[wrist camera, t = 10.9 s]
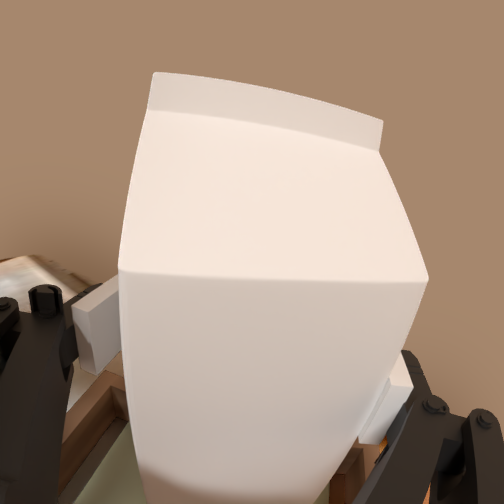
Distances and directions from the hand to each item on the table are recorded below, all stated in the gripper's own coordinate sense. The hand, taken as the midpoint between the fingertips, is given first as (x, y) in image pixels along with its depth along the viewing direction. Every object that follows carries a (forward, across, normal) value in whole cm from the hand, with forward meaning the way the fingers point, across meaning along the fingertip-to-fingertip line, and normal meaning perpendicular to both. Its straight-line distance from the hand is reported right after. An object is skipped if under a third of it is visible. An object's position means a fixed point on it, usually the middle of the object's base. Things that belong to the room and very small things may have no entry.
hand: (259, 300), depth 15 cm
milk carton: (-4, 0, -11) cm, 12 cm away
